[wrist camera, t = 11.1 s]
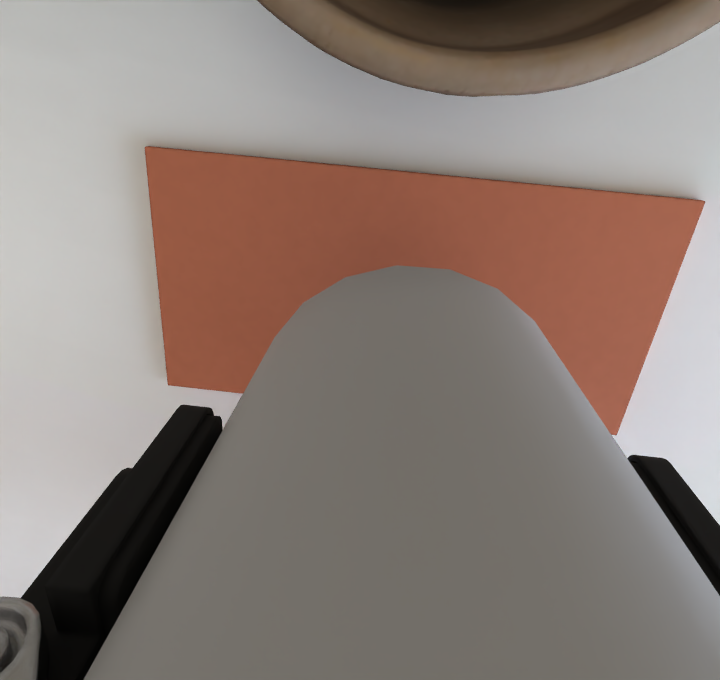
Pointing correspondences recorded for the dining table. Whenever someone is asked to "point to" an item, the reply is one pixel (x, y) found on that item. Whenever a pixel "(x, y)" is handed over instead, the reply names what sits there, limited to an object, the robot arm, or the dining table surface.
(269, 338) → the napkin
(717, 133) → the dining table surface
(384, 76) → the flower pot
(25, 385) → the dining table surface
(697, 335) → the dining table surface
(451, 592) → the can
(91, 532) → the robot arm
